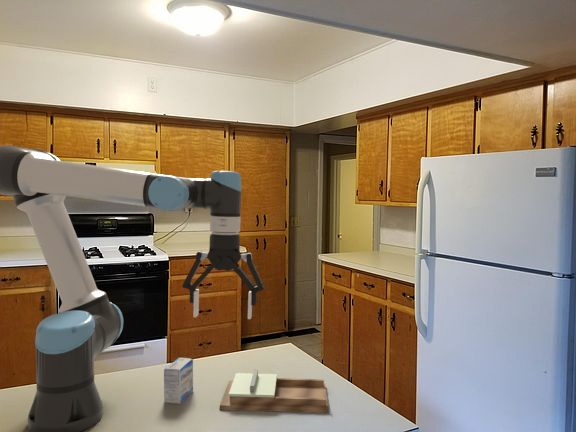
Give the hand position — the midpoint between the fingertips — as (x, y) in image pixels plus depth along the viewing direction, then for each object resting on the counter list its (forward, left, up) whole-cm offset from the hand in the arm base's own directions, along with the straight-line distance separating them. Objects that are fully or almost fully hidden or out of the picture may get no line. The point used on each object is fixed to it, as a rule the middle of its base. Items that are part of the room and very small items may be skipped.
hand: (222, 316), depth 112 cm
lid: (+8, 0, -18) cm, 19 cm away
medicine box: (-11, -1, -21) cm, 23 cm away
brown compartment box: (+14, 0, -20) cm, 25 cm away
